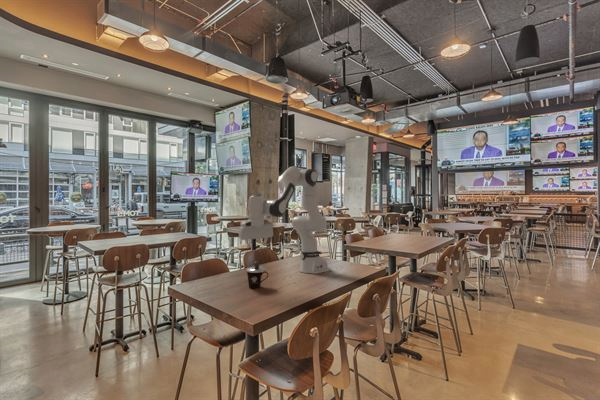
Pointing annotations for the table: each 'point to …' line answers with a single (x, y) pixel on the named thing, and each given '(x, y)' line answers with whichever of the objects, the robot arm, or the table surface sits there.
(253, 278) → the coffee mug
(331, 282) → the table surface
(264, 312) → the table surface
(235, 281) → the table surface
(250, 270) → the lid
